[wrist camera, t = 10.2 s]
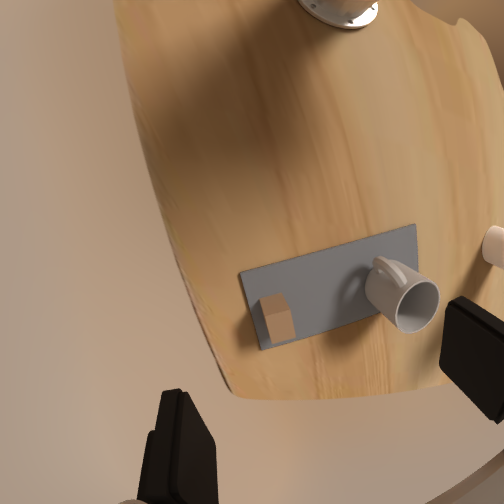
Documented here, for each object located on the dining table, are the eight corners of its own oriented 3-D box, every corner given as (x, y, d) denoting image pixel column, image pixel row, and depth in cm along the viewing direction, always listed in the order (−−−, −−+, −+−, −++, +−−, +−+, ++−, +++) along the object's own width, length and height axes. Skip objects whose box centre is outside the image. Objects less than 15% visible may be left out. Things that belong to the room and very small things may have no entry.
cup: (376, 313, 41) (407, 343, 32) (344, 267, 38) (376, 292, 30) (410, 282, 40) (446, 306, 32) (383, 233, 38) (421, 249, 29)
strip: (239, 272, 37) (243, 288, 32) (414, 223, 38) (437, 231, 33) (261, 348, 41) (267, 371, 35) (417, 296, 42) (436, 309, 36)
